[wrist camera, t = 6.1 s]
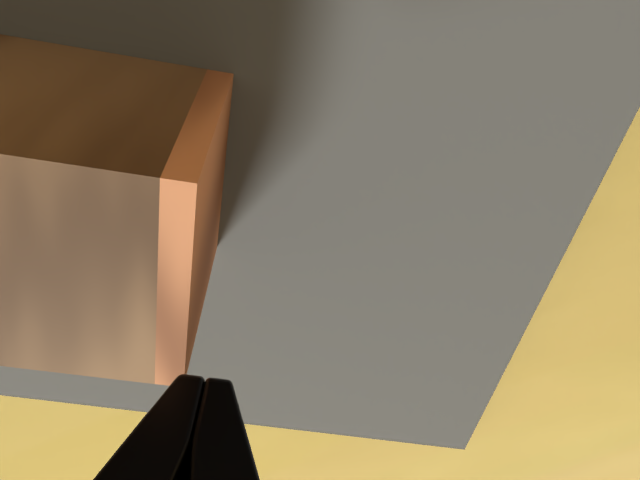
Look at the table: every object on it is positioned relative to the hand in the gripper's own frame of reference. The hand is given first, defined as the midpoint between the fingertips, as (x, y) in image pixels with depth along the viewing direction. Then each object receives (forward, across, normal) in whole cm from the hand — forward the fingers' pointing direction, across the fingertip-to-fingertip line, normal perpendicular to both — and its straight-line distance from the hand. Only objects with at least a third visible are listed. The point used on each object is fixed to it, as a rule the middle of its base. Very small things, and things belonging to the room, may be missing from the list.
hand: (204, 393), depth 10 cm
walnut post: (+5, +1, 0) cm, 5 cm away
